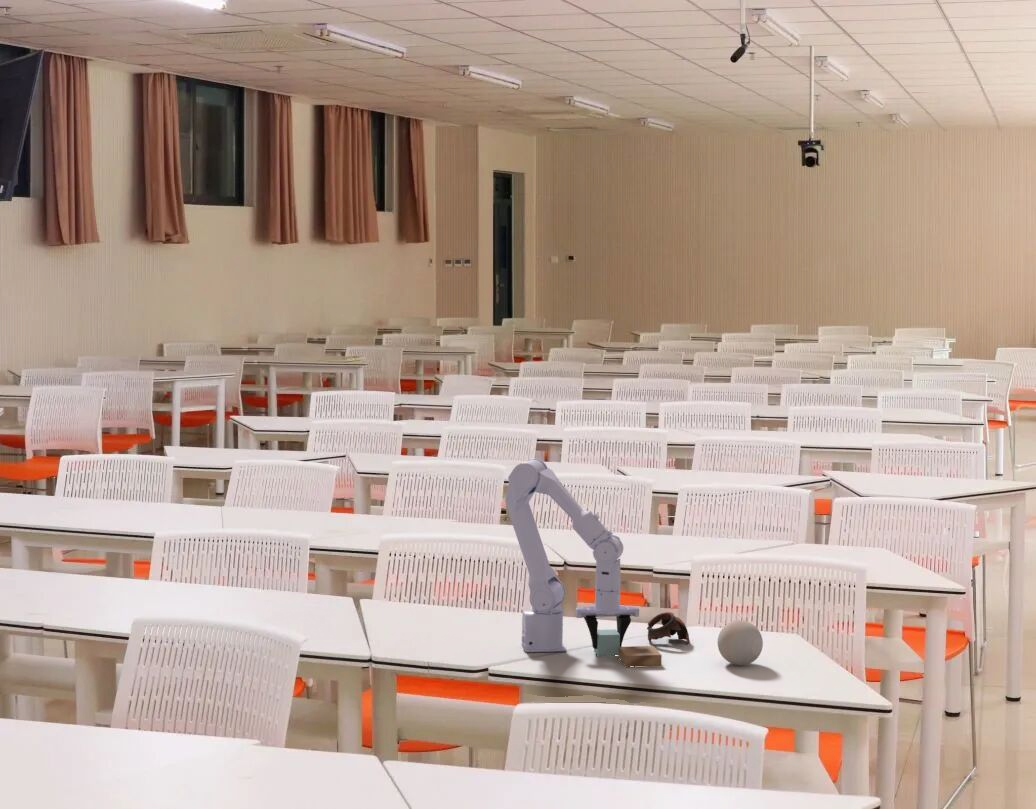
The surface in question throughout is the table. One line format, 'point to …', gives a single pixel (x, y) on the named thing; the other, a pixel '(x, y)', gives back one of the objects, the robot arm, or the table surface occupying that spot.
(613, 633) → the cube
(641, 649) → the slab
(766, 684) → the table surface
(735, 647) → the grey sphere
